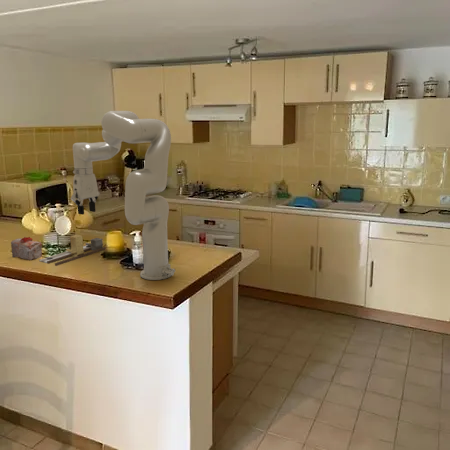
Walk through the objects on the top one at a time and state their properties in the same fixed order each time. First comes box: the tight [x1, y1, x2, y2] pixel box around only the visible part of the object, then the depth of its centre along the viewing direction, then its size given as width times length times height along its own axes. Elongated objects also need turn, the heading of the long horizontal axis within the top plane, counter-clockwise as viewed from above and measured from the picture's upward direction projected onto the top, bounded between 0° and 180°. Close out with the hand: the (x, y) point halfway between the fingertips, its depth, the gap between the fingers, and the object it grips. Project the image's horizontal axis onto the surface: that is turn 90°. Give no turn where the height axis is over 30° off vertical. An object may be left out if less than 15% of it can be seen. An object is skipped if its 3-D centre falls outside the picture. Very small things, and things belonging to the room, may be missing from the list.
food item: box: [10, 236, 43, 261], centre depth 201 cm, size 14×8×10 cm, turn 63°
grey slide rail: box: [39, 237, 107, 267], centre depth 203 cm, size 12×30×6 cm, turn 147°
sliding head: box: [65, 234, 85, 258], centre depth 202 cm, size 9×4×9 cm, turn 57°
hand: (86, 212), depth 203 cm, fingers open, 5 cm apart
